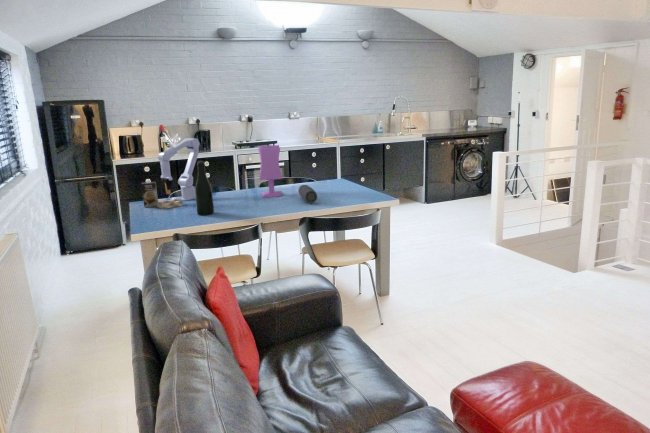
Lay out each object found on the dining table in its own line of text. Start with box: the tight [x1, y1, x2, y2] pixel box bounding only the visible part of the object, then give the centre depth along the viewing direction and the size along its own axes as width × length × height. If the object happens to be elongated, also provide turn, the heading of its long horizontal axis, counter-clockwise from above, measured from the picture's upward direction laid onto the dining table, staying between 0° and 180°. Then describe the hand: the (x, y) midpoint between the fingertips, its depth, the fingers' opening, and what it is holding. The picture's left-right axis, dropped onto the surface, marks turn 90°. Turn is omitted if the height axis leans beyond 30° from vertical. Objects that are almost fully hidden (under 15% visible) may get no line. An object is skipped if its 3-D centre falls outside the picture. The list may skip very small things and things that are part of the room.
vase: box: [257, 144, 283, 198], centre depth 337 cm, size 16×16×35 cm
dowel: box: [164, 179, 172, 195], centre depth 322 cm, size 3×3×10 cm
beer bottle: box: [194, 160, 215, 216], centre depth 289 cm, size 10×10×33 cm
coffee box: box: [140, 181, 159, 208], centre depth 319 cm, size 9×6×16 cm
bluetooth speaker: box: [298, 184, 318, 204], centre depth 317 cm, size 23×9×10 cm, turn 14°
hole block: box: [156, 198, 184, 210], centre depth 318 cm, size 14×10×3 cm
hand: (168, 189), depth 323 cm, fingers closed on dowel, 3 cm apart
